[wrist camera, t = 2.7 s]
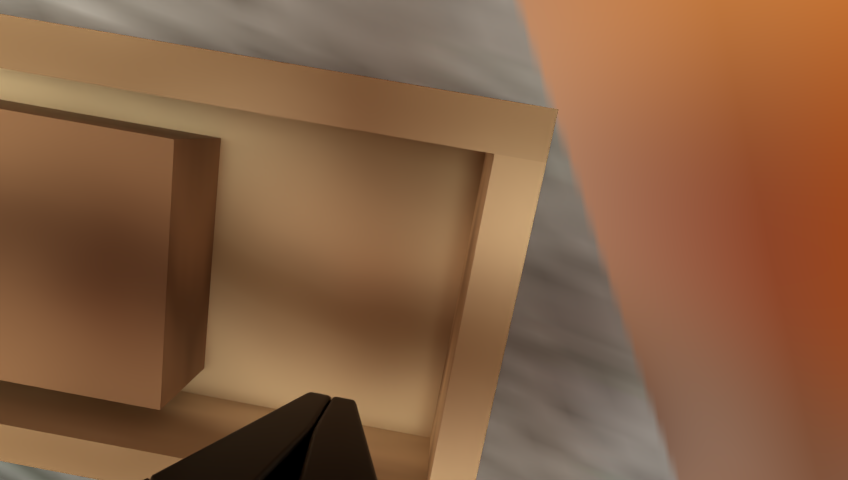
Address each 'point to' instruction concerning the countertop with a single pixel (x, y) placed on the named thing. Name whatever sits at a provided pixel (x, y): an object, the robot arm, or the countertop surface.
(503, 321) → the open box
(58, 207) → the cover plate
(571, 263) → the countertop surface
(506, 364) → the countertop surface
